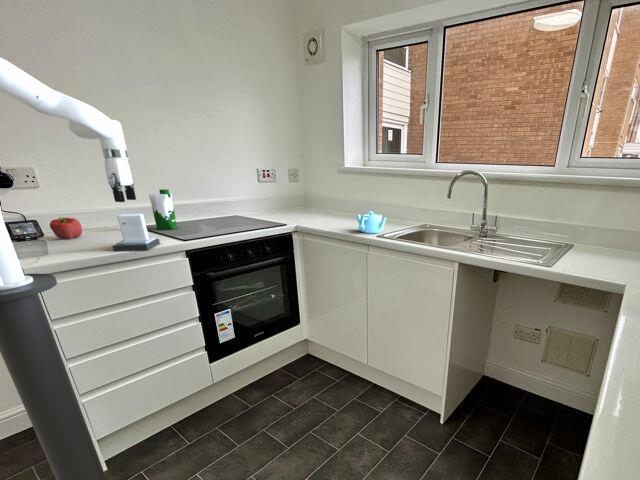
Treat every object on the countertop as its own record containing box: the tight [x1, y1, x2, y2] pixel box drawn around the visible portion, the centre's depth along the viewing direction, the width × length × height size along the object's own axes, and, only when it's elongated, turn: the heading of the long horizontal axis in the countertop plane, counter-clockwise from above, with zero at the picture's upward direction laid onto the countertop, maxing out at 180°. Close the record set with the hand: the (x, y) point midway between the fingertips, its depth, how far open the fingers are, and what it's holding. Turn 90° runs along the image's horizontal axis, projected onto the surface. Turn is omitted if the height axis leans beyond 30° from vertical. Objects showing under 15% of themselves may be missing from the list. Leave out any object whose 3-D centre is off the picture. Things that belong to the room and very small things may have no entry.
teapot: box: [355, 211, 387, 234], centre depth 197 cm, size 15×15×11 cm
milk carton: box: [148, 188, 178, 231], centre depth 183 cm, size 9×9×20 cm
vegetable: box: [49, 216, 83, 240], centre depth 156 cm, size 11×10×10 cm
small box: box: [116, 213, 150, 242], centre depth 145 cm, size 8×6×10 cm
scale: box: [112, 236, 161, 252], centre depth 147 cm, size 13×12×3 cm
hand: (126, 200), depth 141 cm, fingers open, 9 cm apart
